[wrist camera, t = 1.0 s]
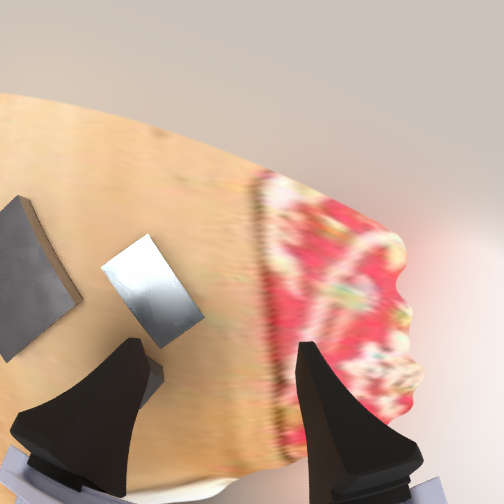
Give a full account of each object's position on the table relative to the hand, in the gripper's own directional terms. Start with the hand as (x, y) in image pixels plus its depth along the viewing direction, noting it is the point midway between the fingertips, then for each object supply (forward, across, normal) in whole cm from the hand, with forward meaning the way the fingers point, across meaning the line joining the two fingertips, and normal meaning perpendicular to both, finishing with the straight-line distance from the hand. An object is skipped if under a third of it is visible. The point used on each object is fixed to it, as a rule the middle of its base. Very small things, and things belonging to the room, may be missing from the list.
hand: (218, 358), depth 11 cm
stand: (+7, +21, +1) cm, 22 cm away
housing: (+11, +7, +3) cm, 14 cm away
